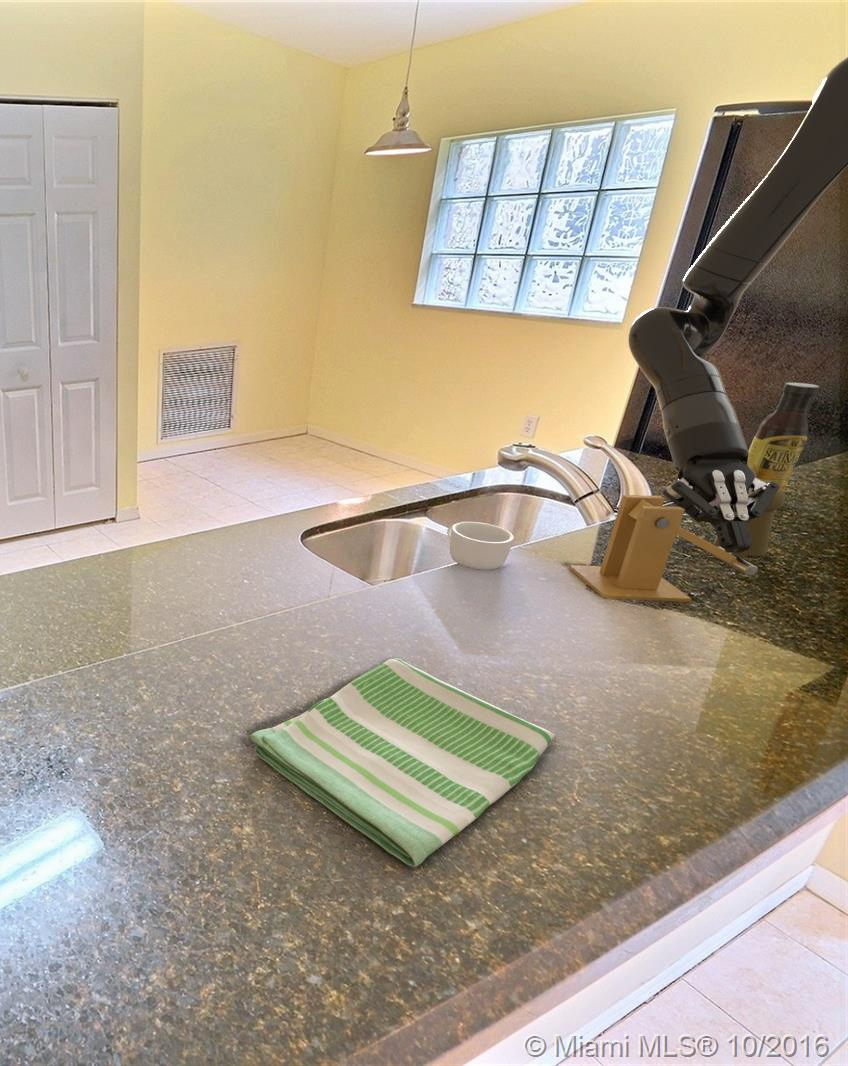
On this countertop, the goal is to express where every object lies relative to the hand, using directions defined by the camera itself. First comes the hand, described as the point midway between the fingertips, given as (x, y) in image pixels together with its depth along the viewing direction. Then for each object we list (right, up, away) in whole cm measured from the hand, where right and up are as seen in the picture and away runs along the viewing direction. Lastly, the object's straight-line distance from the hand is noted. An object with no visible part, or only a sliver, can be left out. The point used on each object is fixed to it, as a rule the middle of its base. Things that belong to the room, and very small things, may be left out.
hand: (738, 550), depth 91 cm
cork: (+12, -1, +12) cm, 17 cm away
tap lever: (-7, +1, +1) cm, 7 cm away
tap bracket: (-11, -6, +4) cm, 13 cm away
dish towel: (-56, -19, -23) cm, 63 cm away
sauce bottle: (+35, +8, +33) cm, 49 cm away
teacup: (-27, -2, +14) cm, 30 cm away
